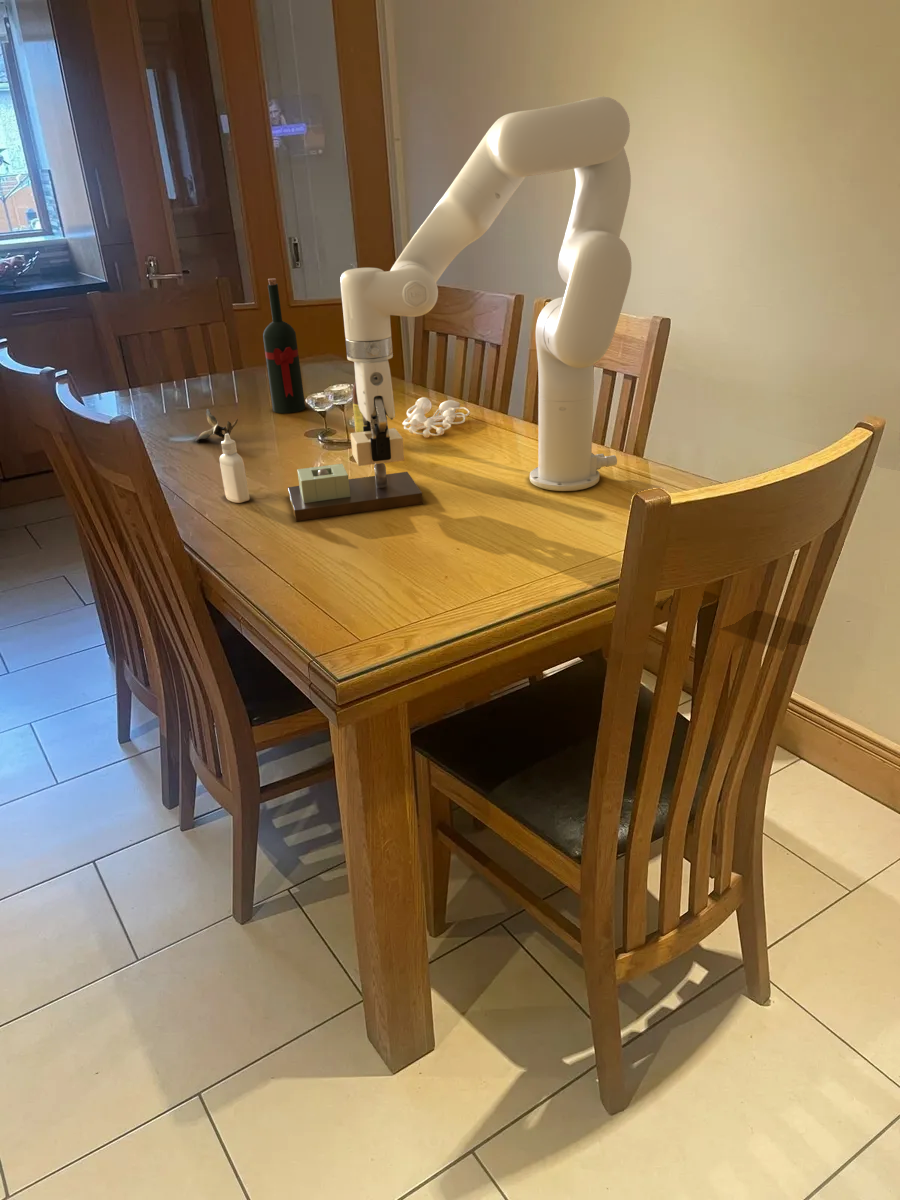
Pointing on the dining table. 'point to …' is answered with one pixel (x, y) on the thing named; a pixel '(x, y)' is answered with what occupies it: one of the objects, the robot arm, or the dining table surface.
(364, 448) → the beige block with hole
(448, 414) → the tangled rod sculpture
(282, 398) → the wine bottle
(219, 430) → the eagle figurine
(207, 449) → the dining table surface
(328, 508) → the peg board base
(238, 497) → the eye dropper bottle
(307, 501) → the green block with hole
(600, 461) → the robot arm
